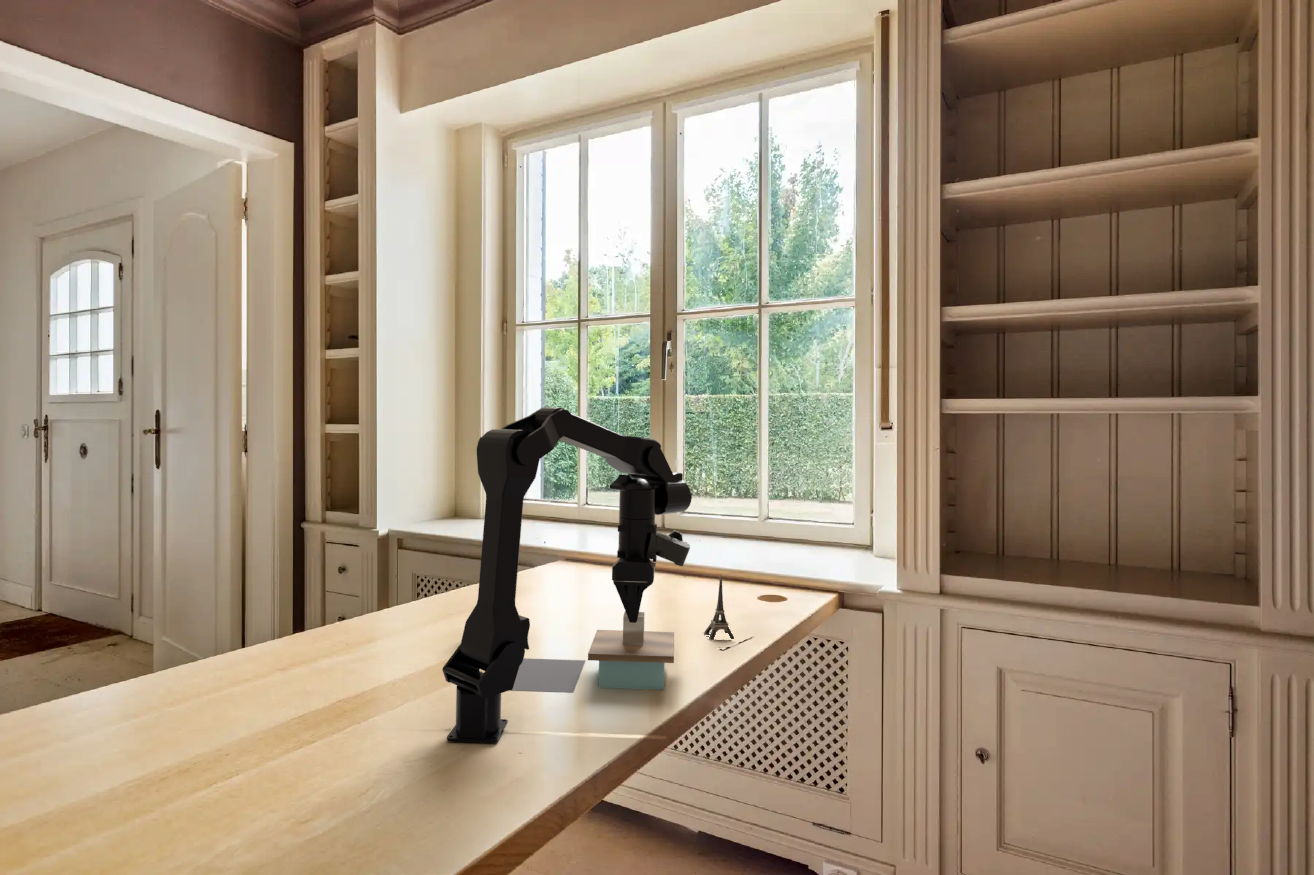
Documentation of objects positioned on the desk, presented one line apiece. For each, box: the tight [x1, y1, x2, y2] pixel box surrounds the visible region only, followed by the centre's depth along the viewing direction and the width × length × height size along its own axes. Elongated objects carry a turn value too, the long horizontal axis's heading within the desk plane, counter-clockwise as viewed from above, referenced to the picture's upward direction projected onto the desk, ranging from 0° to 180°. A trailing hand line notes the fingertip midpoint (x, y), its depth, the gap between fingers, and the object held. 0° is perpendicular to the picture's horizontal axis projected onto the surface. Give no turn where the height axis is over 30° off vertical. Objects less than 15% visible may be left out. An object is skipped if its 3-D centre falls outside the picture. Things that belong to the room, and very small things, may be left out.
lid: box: [587, 610, 675, 664], centre depth 118 cm, size 13×13×6 cm
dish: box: [597, 661, 666, 691], centre depth 118 cm, size 10×10×5 cm
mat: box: [509, 657, 586, 694], centre depth 118 cm, size 15×15×1 cm
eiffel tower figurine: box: [703, 575, 734, 641], centre depth 143 cm, size 15×10×13 cm
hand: (634, 614), depth 118 cm, fingers open, 9 cm apart
